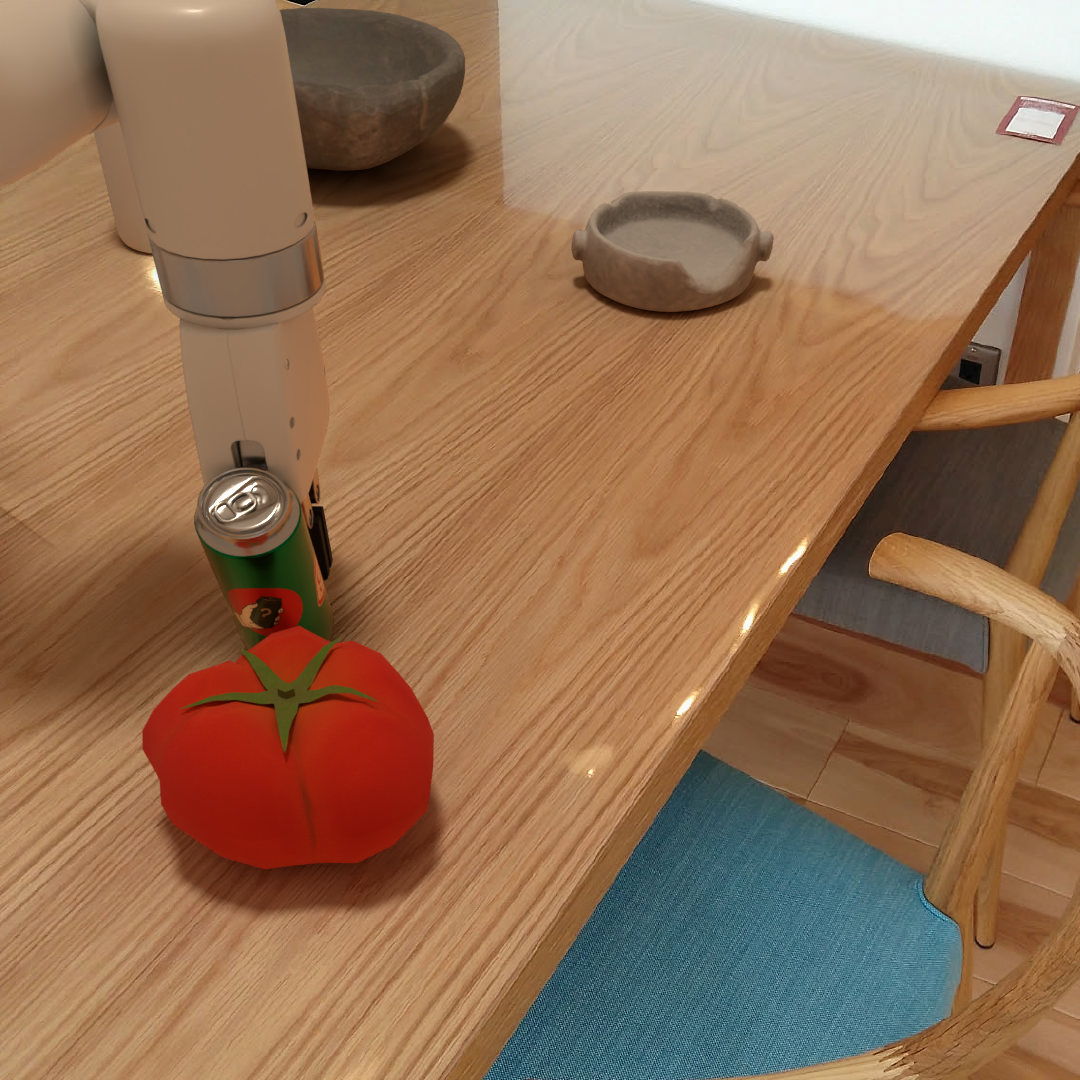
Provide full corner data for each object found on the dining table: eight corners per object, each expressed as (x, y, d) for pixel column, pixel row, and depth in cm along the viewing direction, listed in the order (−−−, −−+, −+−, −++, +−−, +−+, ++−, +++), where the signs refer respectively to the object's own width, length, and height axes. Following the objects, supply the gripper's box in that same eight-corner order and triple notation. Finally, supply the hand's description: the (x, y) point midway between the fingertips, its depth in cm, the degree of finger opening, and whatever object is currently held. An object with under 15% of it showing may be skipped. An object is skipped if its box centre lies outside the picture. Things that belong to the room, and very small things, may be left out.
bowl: (520, 147, 129) (517, 34, 122) (369, 232, 114) (355, 108, 107) (323, 90, 136) (309, -21, 129) (156, 163, 121) (130, 42, 114)
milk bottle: (167, 266, 107) (106, -13, 94) (98, 237, 110) (28, -39, 96) (241, 233, 112) (193, -37, 99) (173, 206, 115) (117, -60, 101)
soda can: (354, 637, 77) (318, 510, 66) (275, 686, 75) (225, 563, 64) (302, 577, 78) (259, 443, 68) (224, 623, 77) (167, 493, 66)
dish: (784, 277, 114) (791, 218, 111) (690, 339, 105) (694, 277, 102) (643, 225, 119) (645, 168, 116) (542, 280, 111) (540, 220, 107)
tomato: (483, 741, 73) (474, 611, 67) (408, 927, 64) (390, 797, 58) (230, 700, 74) (198, 569, 67) (121, 879, 64) (73, 746, 58)
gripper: (194, 196, 71) (260, 496, 83) (116, 338, 60) (206, 658, 72) (343, 200, 71) (386, 498, 84) (293, 342, 60) (351, 659, 73)
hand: (302, 571), depth 78 cm, fingers closed
